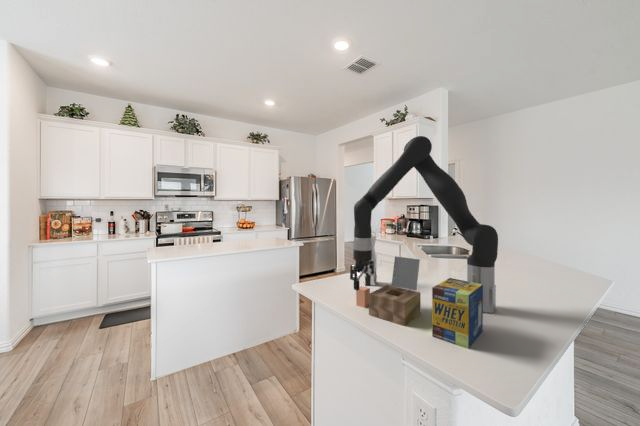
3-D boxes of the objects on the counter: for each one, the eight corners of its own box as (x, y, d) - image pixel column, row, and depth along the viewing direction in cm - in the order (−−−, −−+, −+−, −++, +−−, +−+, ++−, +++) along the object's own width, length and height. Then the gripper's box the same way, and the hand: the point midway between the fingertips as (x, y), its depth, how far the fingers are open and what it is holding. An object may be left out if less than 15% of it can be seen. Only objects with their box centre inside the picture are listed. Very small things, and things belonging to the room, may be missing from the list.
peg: (369, 304, 108) (369, 288, 107) (364, 307, 105) (364, 290, 104) (361, 302, 110) (361, 286, 110) (356, 305, 107) (356, 288, 107)
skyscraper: (379, 286, 132) (379, 231, 131) (363, 286, 132) (363, 231, 131) (376, 282, 140) (376, 230, 140) (361, 282, 140) (360, 230, 140)
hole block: (420, 313, 99) (420, 292, 98) (404, 326, 88) (404, 302, 88) (386, 304, 108) (386, 285, 108) (368, 314, 98) (368, 293, 97)
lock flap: (391, 285, 107) (392, 285, 107) (415, 290, 100) (416, 290, 101) (395, 256, 109) (396, 256, 110) (418, 259, 102) (419, 259, 103)
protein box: (431, 336, 81) (431, 287, 81) (449, 321, 92) (449, 277, 91) (468, 349, 73) (468, 295, 73) (483, 331, 84) (483, 283, 84)
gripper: (360, 251, 99) (360, 293, 99) (379, 247, 110) (379, 285, 110) (344, 249, 104) (344, 289, 104) (364, 245, 115) (364, 282, 115)
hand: (362, 287), depth 107 cm, fingers open, 8 cm apart
